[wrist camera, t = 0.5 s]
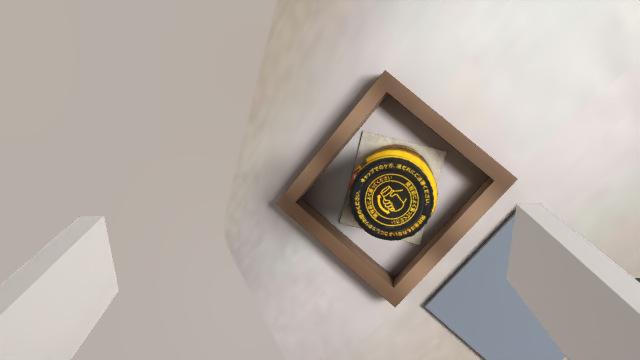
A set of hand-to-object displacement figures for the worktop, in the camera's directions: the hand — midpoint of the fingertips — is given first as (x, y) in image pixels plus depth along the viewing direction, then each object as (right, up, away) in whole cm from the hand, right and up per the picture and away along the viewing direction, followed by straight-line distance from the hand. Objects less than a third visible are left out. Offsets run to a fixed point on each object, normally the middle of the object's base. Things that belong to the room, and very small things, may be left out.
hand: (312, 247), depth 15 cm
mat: (+17, -8, +24) cm, 31 cm away
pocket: (+6, +1, +25) cm, 26 cm away
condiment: (+7, +1, +25) cm, 26 cm away
